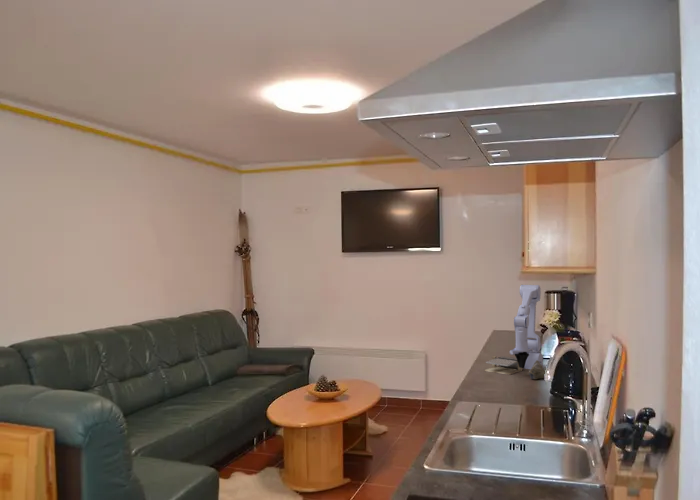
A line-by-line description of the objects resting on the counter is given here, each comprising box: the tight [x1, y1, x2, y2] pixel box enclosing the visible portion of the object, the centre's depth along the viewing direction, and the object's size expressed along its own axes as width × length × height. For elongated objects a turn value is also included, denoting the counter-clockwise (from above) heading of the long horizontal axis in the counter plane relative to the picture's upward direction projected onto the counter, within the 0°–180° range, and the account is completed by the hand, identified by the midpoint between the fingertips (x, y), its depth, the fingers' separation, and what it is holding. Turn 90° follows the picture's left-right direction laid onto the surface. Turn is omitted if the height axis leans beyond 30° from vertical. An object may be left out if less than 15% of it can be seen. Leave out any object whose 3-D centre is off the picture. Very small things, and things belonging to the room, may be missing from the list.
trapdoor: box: [485, 355, 518, 369], centre depth 282 cm, size 12×18×4 cm
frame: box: [483, 355, 524, 376], centre depth 280 cm, size 16×12×6 cm
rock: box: [528, 360, 546, 380], centre depth 263 cm, size 11×6×10 cm
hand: (521, 367), depth 269 cm, fingers closed
